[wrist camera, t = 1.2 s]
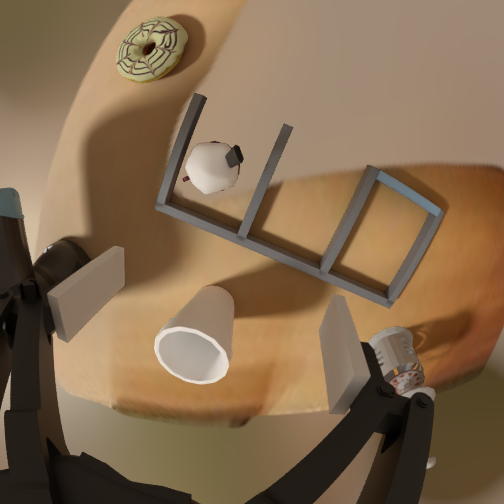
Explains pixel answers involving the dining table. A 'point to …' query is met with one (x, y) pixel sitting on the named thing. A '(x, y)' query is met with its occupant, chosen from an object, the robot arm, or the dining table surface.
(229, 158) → the cocoa
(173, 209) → the organizer
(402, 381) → the french press
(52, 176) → the dining table surface
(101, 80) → the dining table surface
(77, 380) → the dining table surface
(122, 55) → the decorated donut
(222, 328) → the foam cup
